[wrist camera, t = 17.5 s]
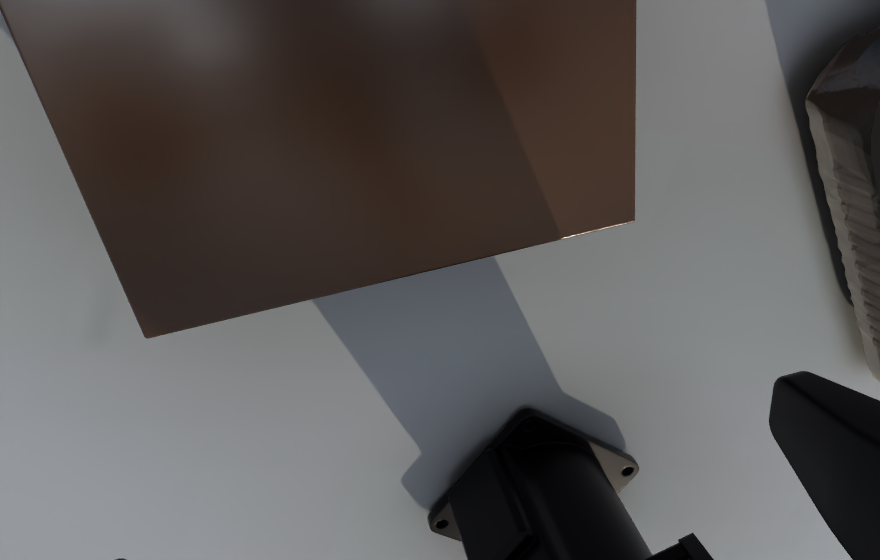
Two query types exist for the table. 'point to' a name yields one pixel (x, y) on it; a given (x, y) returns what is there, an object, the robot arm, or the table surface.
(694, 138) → the table surface
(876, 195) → the black sponge
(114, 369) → the table surface
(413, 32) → the cabinet
